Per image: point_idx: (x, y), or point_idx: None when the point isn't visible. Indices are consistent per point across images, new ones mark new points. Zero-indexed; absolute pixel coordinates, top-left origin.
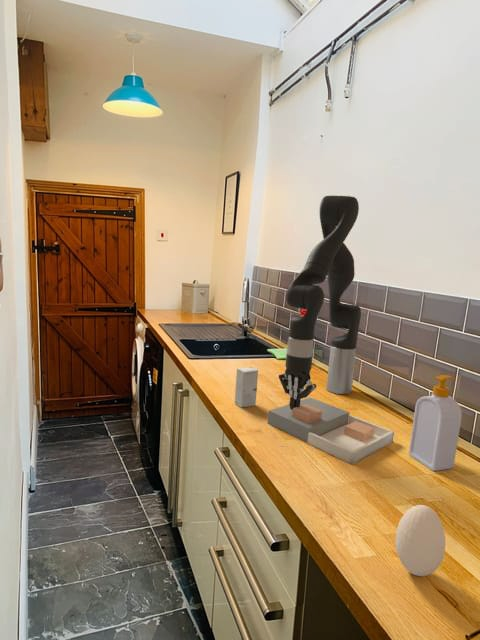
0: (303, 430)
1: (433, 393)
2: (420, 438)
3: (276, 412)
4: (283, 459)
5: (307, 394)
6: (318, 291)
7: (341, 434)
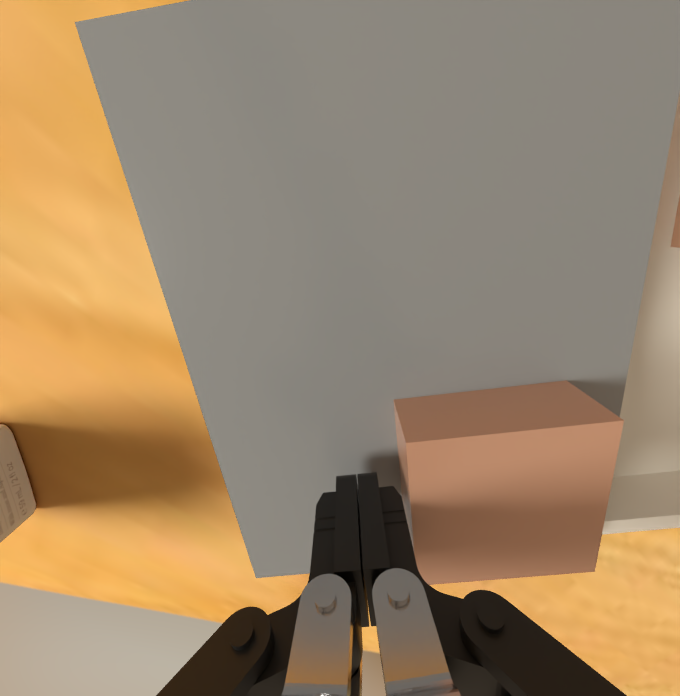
0: None
1: None
2: None
3: (301, 559)
4: (560, 624)
5: (560, 670)
6: None
7: (655, 266)
